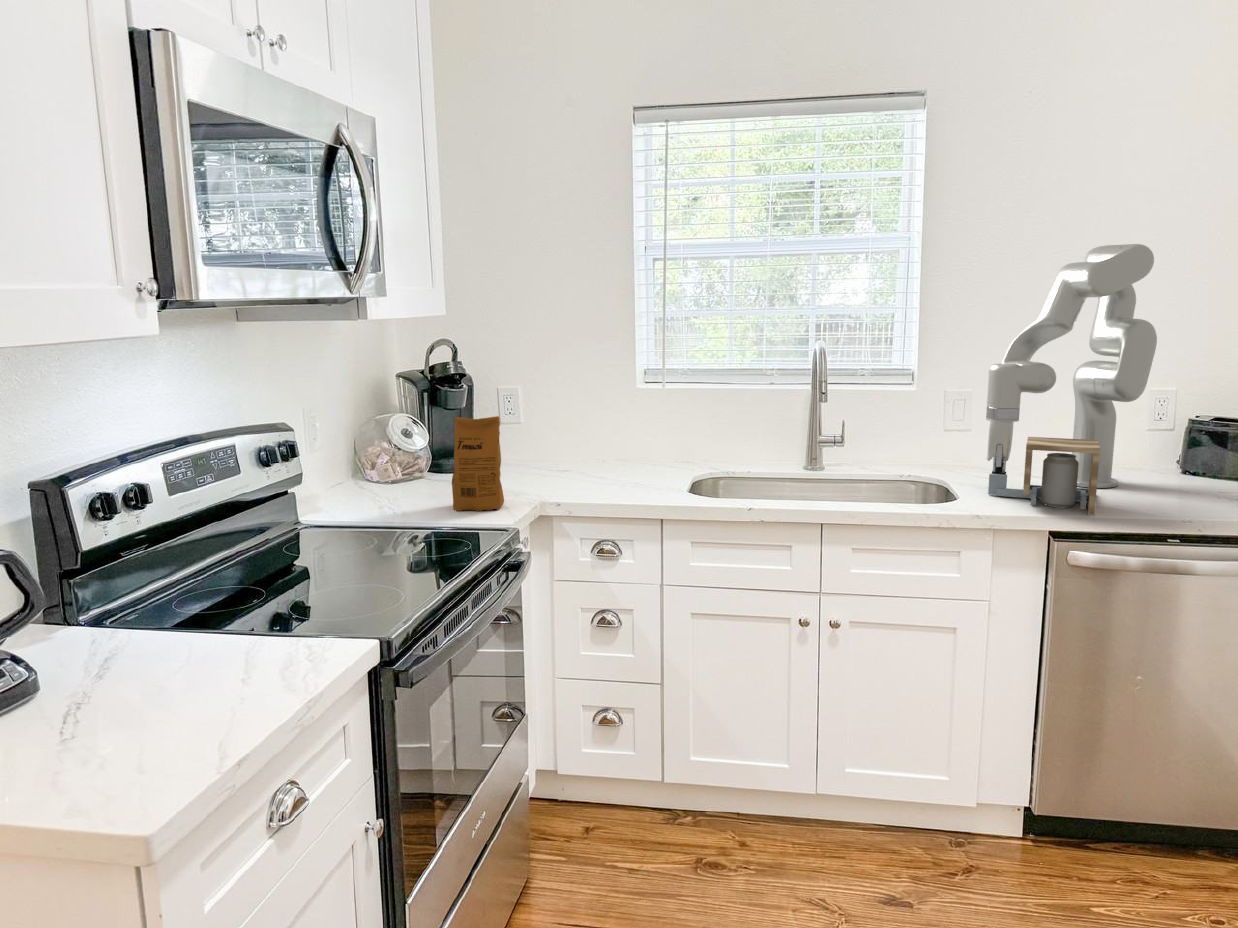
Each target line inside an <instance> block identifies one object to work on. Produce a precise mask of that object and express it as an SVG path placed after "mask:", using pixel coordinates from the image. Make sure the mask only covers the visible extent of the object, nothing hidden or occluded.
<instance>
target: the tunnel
mask: <svg viewBox="0 0 1238 928" xmlns="http://www.w3.org/2000/svg"><path fill="white" fill-rule="evenodd" d="M1025 444H1026V447H1025V461H1024V475H1023V488H1022V489H1023V495H1026V496H1029V490H1030V485H1031V480H1032V479H1031V477H1032V465H1033V463H1032V462H1033V451H1042V452H1043V451H1044V452H1046V451H1047V452H1059V453H1072V452H1079V453H1091V461H1090V474H1089V486H1088V487H1087V489H1088V499H1087V501H1086V508H1087V512H1088V513H1087V514H1088V516H1095V512H1096V503H1097V499H1096V498H1097V489H1098V488H1097V479H1098V466H1099V454H1100V446H1099V442H1098V440H1085V439H1073V438H1061V437H1041V436H1040V437H1039V436H1027V441H1026V443H1025Z"/></svg>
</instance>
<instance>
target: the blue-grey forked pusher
mask: <svg viewBox="0 0 1238 928" xmlns="http://www.w3.org/2000/svg"><path fill="white" fill-rule="evenodd" d="M988 476H989V477H988V491H987V492H988V493H987V495H991V496H997V497H1010V498H1023V499H1030V506H1036V505H1037V504H1036V501H1037V499H1041V488H1042V487H1032V490H1029V496H1026V495H1023V488H1022V489H1019V488H1007V486H1008V485H1007V483H1008V474H1006V475H1004V474H992V473H989V475H988ZM1076 502H1079V503H1080V504H1079V505H1080V509H1081V510H1086V509H1087V501H1086V490H1077V493H1076Z"/></svg>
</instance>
